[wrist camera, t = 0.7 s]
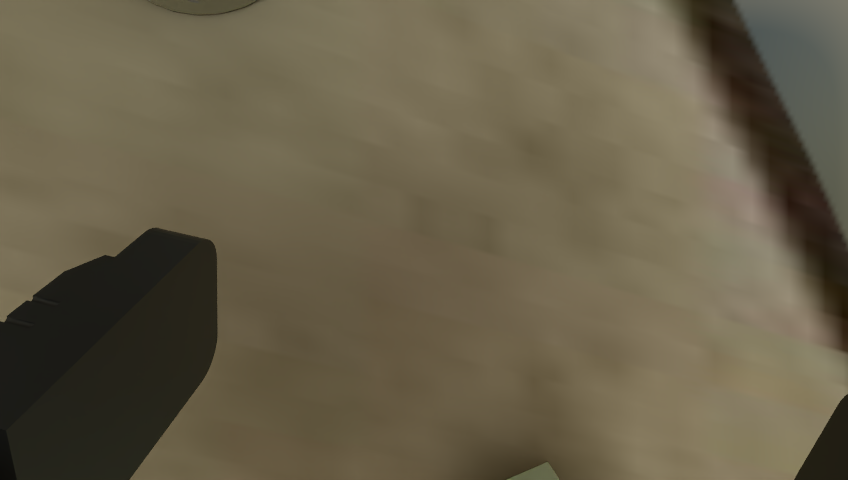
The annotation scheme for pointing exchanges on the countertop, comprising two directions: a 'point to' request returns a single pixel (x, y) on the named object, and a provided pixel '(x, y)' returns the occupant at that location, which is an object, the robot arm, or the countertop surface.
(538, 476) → the pillar
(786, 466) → the countertop surface
